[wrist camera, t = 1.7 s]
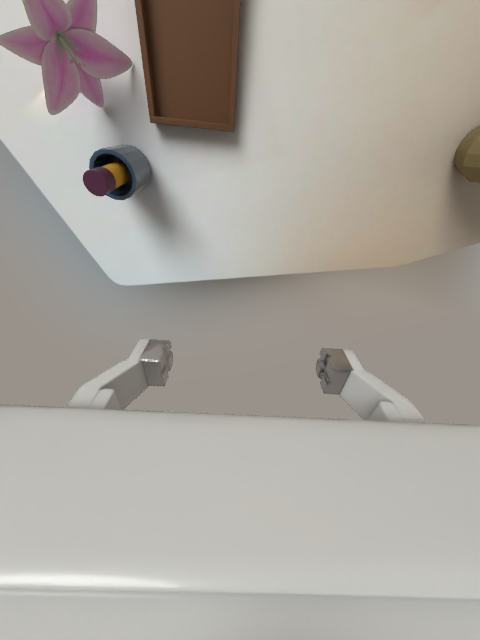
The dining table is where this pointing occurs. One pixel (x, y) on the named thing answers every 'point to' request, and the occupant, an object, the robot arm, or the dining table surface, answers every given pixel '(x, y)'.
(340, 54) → the dining table surface
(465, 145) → the squeeze bottle
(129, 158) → the pen cup
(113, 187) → the glue stick
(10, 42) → the lily
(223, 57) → the desk tray
